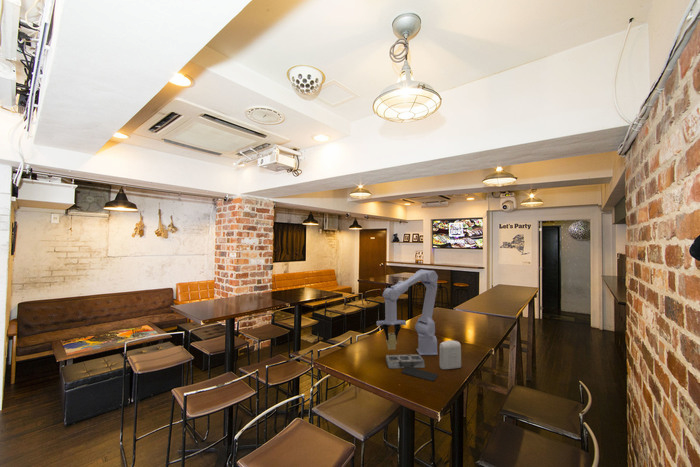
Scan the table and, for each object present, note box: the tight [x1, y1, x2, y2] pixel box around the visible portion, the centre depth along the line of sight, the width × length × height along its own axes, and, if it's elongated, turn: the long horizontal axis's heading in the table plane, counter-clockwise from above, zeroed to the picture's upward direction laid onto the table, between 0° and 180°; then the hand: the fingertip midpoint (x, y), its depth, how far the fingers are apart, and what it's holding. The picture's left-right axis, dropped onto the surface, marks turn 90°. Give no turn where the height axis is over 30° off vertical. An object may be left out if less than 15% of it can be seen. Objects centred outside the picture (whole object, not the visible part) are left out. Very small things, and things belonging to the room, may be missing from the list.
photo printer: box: [438, 340, 462, 370], centre depth 132 cm, size 10×4×12 cm, turn 103°
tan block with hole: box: [385, 332, 398, 351], centre depth 141 cm, size 5×5×7 cm
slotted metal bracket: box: [385, 353, 425, 369], centre depth 136 cm, size 17×8×3 cm, turn 92°
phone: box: [401, 367, 439, 382], centre depth 126 cm, size 7×1×15 cm
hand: (391, 339), depth 141 cm, fingers closed on tan block with hole, 4 cm apart
